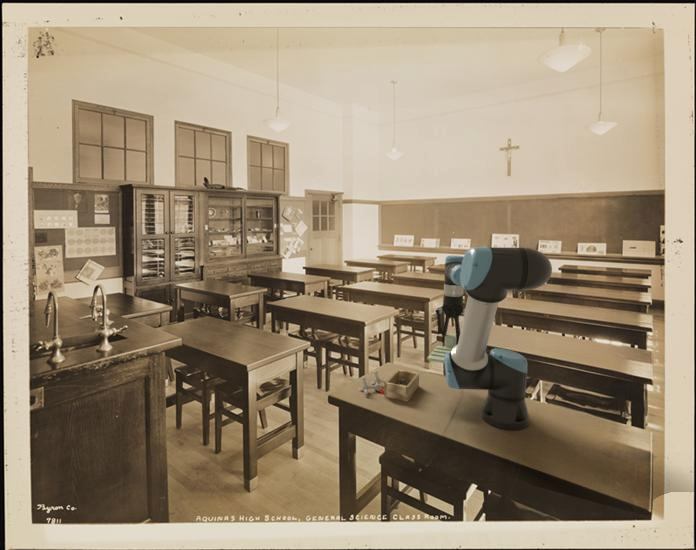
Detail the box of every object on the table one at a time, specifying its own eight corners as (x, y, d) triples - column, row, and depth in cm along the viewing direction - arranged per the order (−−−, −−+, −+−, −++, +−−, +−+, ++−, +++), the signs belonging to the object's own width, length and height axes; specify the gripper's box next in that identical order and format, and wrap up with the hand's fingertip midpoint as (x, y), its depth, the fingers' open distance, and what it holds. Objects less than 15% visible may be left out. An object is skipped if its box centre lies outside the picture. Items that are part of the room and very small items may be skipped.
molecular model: (392, 397, 162) (373, 383, 168) (399, 381, 160) (379, 368, 165) (372, 408, 151) (352, 393, 156) (379, 391, 148) (358, 376, 154)
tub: (418, 387, 162) (419, 373, 161) (407, 403, 149) (408, 387, 148) (397, 383, 166) (397, 369, 165) (384, 398, 153) (384, 382, 152)
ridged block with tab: (464, 347, 165) (464, 335, 164) (453, 364, 146) (454, 351, 145) (440, 343, 169) (441, 332, 169) (427, 360, 150) (427, 347, 149)
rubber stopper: (406, 386, 162) (406, 379, 162) (404, 388, 160) (405, 381, 159) (400, 385, 163) (401, 378, 163) (398, 387, 161) (399, 380, 160)
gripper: (475, 294, 161) (472, 351, 165) (435, 291, 168) (433, 346, 172) (472, 298, 155) (469, 357, 158) (430, 294, 161) (428, 351, 165)
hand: (450, 351), depth 165 cm, fingers closed on ridged block with tab, 3 cm apart
